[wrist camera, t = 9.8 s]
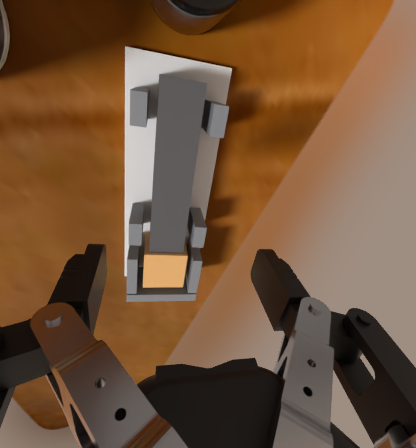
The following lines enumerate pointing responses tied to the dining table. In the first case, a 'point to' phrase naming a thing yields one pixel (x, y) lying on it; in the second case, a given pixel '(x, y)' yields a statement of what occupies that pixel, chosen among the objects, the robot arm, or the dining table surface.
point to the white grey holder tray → (144, 163)
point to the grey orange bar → (172, 179)
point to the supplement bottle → (192, 13)
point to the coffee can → (3, 35)
